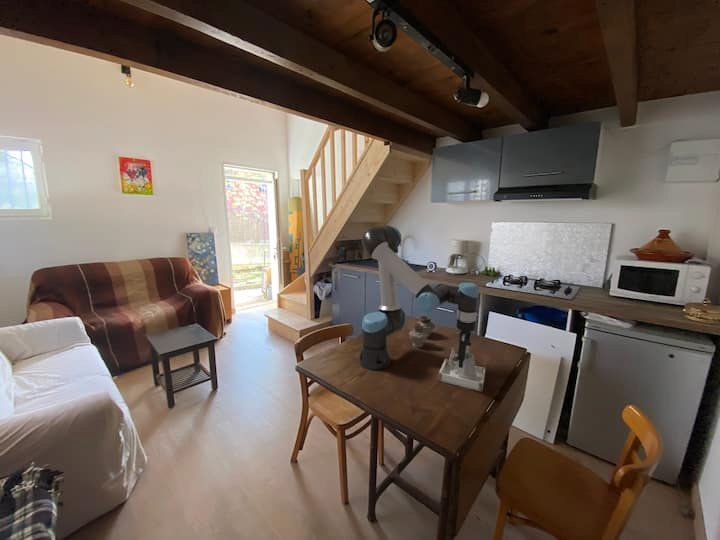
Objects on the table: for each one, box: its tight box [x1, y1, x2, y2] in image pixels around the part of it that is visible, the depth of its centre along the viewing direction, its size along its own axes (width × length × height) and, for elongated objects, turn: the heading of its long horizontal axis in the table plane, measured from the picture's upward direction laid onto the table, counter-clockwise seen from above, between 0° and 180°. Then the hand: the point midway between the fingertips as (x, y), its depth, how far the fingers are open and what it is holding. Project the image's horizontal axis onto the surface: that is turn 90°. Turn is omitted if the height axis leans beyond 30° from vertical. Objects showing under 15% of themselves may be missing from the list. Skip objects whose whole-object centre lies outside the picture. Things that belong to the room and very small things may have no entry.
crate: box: [437, 358, 486, 393], centre depth 128 cm, size 18×14×4 cm
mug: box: [448, 347, 476, 381], centre depth 127 cm, size 8×12×12 cm, turn 47°
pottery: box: [408, 315, 436, 348], centre depth 165 cm, size 11×25×12 cm, turn 154°
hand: (462, 365), depth 127 cm, fingers open, 13 cm apart
